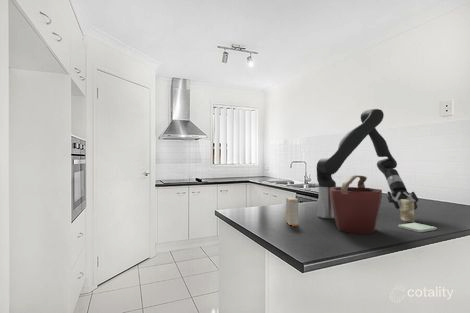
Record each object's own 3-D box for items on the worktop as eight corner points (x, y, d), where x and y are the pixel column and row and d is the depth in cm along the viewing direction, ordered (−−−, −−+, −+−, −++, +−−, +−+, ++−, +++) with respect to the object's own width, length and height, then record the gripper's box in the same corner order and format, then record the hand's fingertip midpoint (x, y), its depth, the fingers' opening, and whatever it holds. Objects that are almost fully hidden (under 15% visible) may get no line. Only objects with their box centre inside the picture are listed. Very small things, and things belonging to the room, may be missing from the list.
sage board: (419, 232, 115) (419, 230, 115) (398, 227, 124) (398, 225, 124) (436, 229, 119) (436, 227, 119) (414, 224, 129) (414, 222, 129)
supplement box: (298, 226, 127) (298, 199, 127) (289, 226, 127) (288, 199, 127) (295, 222, 135) (295, 197, 135) (286, 222, 135) (285, 197, 135)
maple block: (404, 221, 135) (404, 200, 135) (400, 219, 140) (400, 199, 140) (414, 221, 134) (413, 200, 135) (409, 219, 139) (409, 199, 139)
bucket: (353, 221, 136) (352, 173, 137) (396, 231, 117) (395, 176, 117) (320, 227, 124) (319, 175, 125) (362, 239, 105) (361, 178, 105)
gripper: (384, 180, 147) (395, 204, 136) (412, 180, 145) (424, 204, 134) (381, 188, 152) (390, 212, 141) (407, 189, 150) (418, 212, 139)
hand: (407, 208), depth 137 cm, fingers open, 8 cm apart
